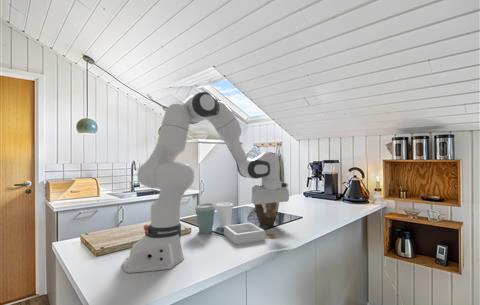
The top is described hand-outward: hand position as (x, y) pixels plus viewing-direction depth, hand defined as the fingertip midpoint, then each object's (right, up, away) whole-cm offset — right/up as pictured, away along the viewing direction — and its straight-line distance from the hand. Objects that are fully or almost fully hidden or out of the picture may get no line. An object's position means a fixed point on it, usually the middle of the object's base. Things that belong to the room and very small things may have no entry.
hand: (270, 211), depth 129 cm
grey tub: (-14, -13, -2) cm, 19 cm away
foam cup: (-24, -13, +17) cm, 33 cm away
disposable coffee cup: (-34, -13, +7) cm, 37 cm away
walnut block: (0, -2, 0) cm, 2 cm away
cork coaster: (0, -13, 0) cm, 13 cm away
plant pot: (0, -13, +19) cm, 23 cm away
